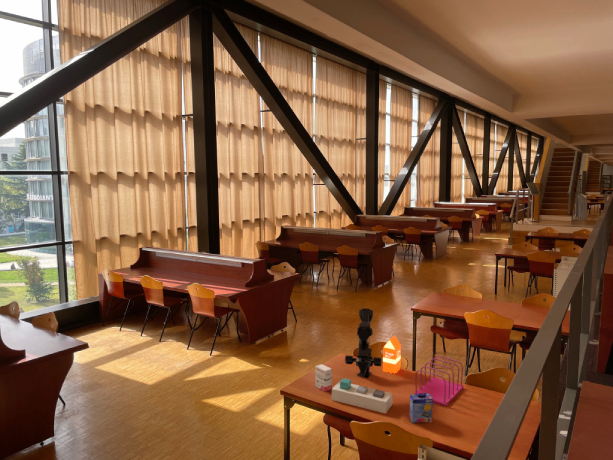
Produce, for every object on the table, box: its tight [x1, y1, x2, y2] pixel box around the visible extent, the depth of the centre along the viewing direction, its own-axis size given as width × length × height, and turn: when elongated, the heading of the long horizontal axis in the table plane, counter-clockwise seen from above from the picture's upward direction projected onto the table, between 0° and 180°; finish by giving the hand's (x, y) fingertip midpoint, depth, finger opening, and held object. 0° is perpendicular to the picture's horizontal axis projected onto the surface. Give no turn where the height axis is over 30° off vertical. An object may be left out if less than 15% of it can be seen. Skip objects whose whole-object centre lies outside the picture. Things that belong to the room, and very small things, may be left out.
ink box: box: [314, 363, 333, 392], centre depth 260 cm, size 8×5×12 cm, turn 39°
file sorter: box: [413, 355, 464, 407], centre depth 254 cm, size 17×25×16 cm
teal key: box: [339, 377, 352, 390], centre depth 248 cm, size 4×4×4 cm
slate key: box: [356, 385, 369, 394], centre depth 244 cm, size 4×4×4 cm
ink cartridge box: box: [409, 393, 434, 424], centre depth 227 cm, size 10×6×14 cm, turn 95°
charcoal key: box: [373, 389, 384, 398], centre depth 240 cm, size 4×4×4 cm
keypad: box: [331, 380, 393, 414], centre depth 245 cm, size 10×29×6 cm, turn 62°
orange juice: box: [382, 335, 402, 375], centre depth 281 cm, size 8×9×20 cm
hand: (362, 377), depth 247 cm, fingers closed
